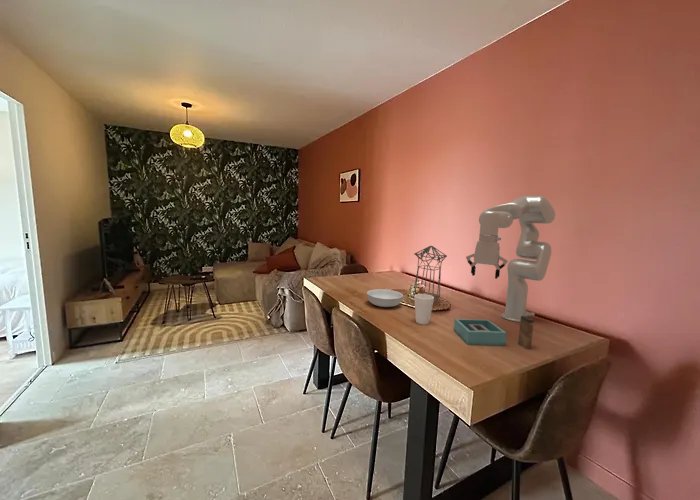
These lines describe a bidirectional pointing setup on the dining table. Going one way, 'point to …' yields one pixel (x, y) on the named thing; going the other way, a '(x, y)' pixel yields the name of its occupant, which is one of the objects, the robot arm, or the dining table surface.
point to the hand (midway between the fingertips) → (484, 276)
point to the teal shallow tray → (479, 332)
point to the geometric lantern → (429, 267)
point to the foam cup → (423, 308)
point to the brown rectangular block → (525, 332)
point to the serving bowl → (384, 297)
